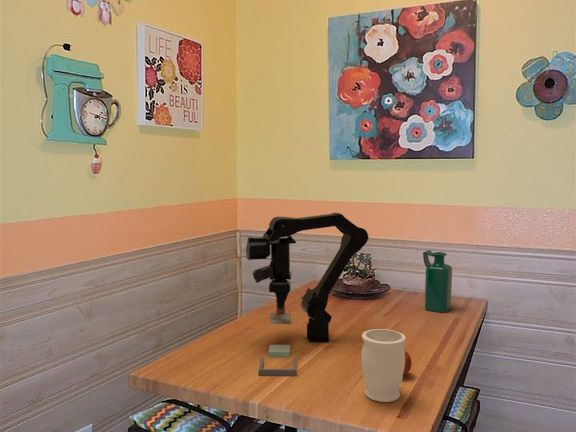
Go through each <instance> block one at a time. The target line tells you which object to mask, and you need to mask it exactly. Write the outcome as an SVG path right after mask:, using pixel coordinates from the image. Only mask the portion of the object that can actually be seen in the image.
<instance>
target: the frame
mask: <svg viewBox="0 0 576 432" xmlns="http://www.w3.org/2000/svg"><path fill="white" fill-rule="evenodd" d="M264 360H265V358H264V356H261V357H260V359H259V366H258V376H267V377H268V376H273V377H275V376H277V377H279V376H285V377H286V376H288V377H289V376H291V377H292V376H293V377H296V376H297V357H296V356H294V357H293V362H292V363H293V364H292V365H293V366H292V367H293V368H264V362H265V361H264Z"/></svg>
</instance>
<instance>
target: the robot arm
mask: <svg viewBox="0 0 576 432" xmlns="http://www.w3.org/2000/svg"><path fill="white" fill-rule="evenodd" d="M268 225H269V226H268V228H267V229H266V231H265V232H264V234H263V235H262V236H261V237H253V236H251V237H250V236H249V237H247V242H246V246H245V253H246V260H247V261H253V260H266V259H268V258H269V257H270V263H269V265H265V266H263V267H259V268H257V269H254V270H253V271H252V276H253V279H254V281H255V283H256V284H257V283H260V282H261V281H264V280H267V279H269V280H271V281H270V282H269V283H268V292H269V293H274V294H275V299H276V298H277V303H278V307H279V309H283V306H284V304H285V305H286V300H287V298H288V295H289V293H290V292H291V283H292V282H290V281H291V280H292V272H291V270H290V269H291V267H290V265H291V264H290V263H291V257H290V256H291V255H290V251H291V249H290V247H291V246H290V244H291V245H293V244H297V240H295V239H294V238H293V237H292V236H293V235H295V234H297V233H299V232H303V231H309V230H315V229H316V230H317V229H322V228H323V229H324V228H330V227H331V228H332V227H335V228H336V229H337V230H338V231H339V232H340V233H341V234H342V237H341V239H340V246H339V249H338V251H337V252H336V254H335V255H334V257H333V259H332V260H331V262H330V264H329V266H328V267H327V269H326V270H325V272H324V274H323V275H322V277H321V278H320V280H319V282H318V283H317V285H316V286H315V287H313V288H312V289H311V288H310V287H308V288H307V289H306V291H305V294H304V295H303V296H301V302H300V303H301V304H300V305H301V309H302V310H303V311H304V313H306V315H307V317H308V322H307V323H306V338H307V339H308V342H323V343H324V342H330V337H329V336H330V335H329V333H330V332H329V331H330V330H329V328H330V327H329V326H330V323H331V321H332V315H331V314H329V312H328V311H326V308H327V305H328V302H329V296H330V294H331V292H332V290H333V289H334V286H335V285H336V284H337V281H339V279H340V277H341V276H342V274H343V272H344V270H345V269H346V267H347V266H348V264H349V262H350V260H351V259H352V258H353V257H354V255H356V254H357V253H358V252H360V251H361V249H363V248H364V246H365V245H366V244H367V242H368V240H369V234H368V231H367V230H366V229H365V228H363V227H360V226H357V225H356V224H354V223H353V222H352V221H350V220H349V219H348V218H346V217H345V215H343V213H339V212H332V213H327V214H319V215H312V216H304V217H289V216H275V217H272V219H271V220H270V222H269V224H268ZM289 280H290V281H289ZM277 303H276V304H277Z"/></svg>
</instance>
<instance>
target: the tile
mask: <svg viewBox="0 0 576 432" xmlns="http://www.w3.org/2000/svg"><path fill="white" fill-rule="evenodd" d="M290 353H291V344H269V349H268V358H290V356H291V355H290Z"/></svg>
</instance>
